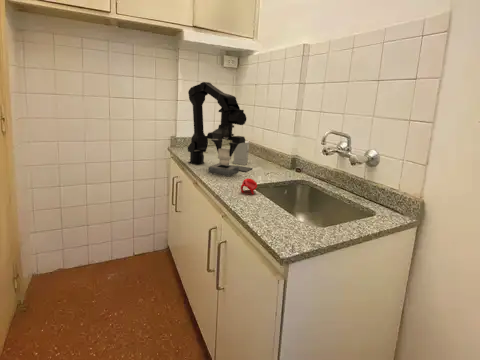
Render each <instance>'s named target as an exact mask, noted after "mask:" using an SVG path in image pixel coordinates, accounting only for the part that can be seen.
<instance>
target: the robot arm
mask: <svg viewBox="0 0 480 360" xmlns="http://www.w3.org/2000/svg"><path fill="white" fill-rule="evenodd" d="M187 92H188V99H189V101H190V103H191V104H192V119H193V131H194V132H193V134H192V136H191V140H190V141H191V142H190V144H189V145H188V147H187V152H189V153H190V154H189V155H190V156H189V161H188V164H193V165H203V164H205V154H204V153H206V152H207V149H208V145H209V139H210V141H211V142H213V143H214V145H215V148H216V151H217V153H218V149H219V148H223V147H222V146H223V140H226V141H227V140H228V141H231V142H228V144H229V149H230V157H231V158H232V156H233V155H234V151H235V149H236V147H237V146H238V144H240V143H245V141H246V137H245V136H242V135H241V136H240V135H234V133H233V128H235V125H237V126H243V125H245V124H246V122H247V115H246V113H245V112H244V109H240V106H239V104H238V101H237V96H235V95H232V94H228V93H225V92H223V91H222V90H220V89H219V88H218V87H216V86H215V85H213V83H211V82H210V81H209V82H208V81H207V82H206V81H202V82H200V83H199V84H196V85H194V86H191V87H190V89H188V91H187ZM208 95H209V96H211V97H212V98H213V99H215V100H216V102H217V104H218V105H219V107H220V109H219V110H218V111H217V112H218V113H220V124H218V127H217V128H216V129H214V130H213V131H210V132H208V133H206V134H207V135H206V134H205V132H204V111H203V105H204V102H205V101H206V96H208Z"/></svg>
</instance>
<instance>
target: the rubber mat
mask: <svg viewBox="0 0 480 360" xmlns="http://www.w3.org/2000/svg"><path fill="white" fill-rule="evenodd" d="M238 166H239V169H238V172H240V173H241V172H242V173H248V172H250V171H253V167H247V166H241V165H238Z"/></svg>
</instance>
